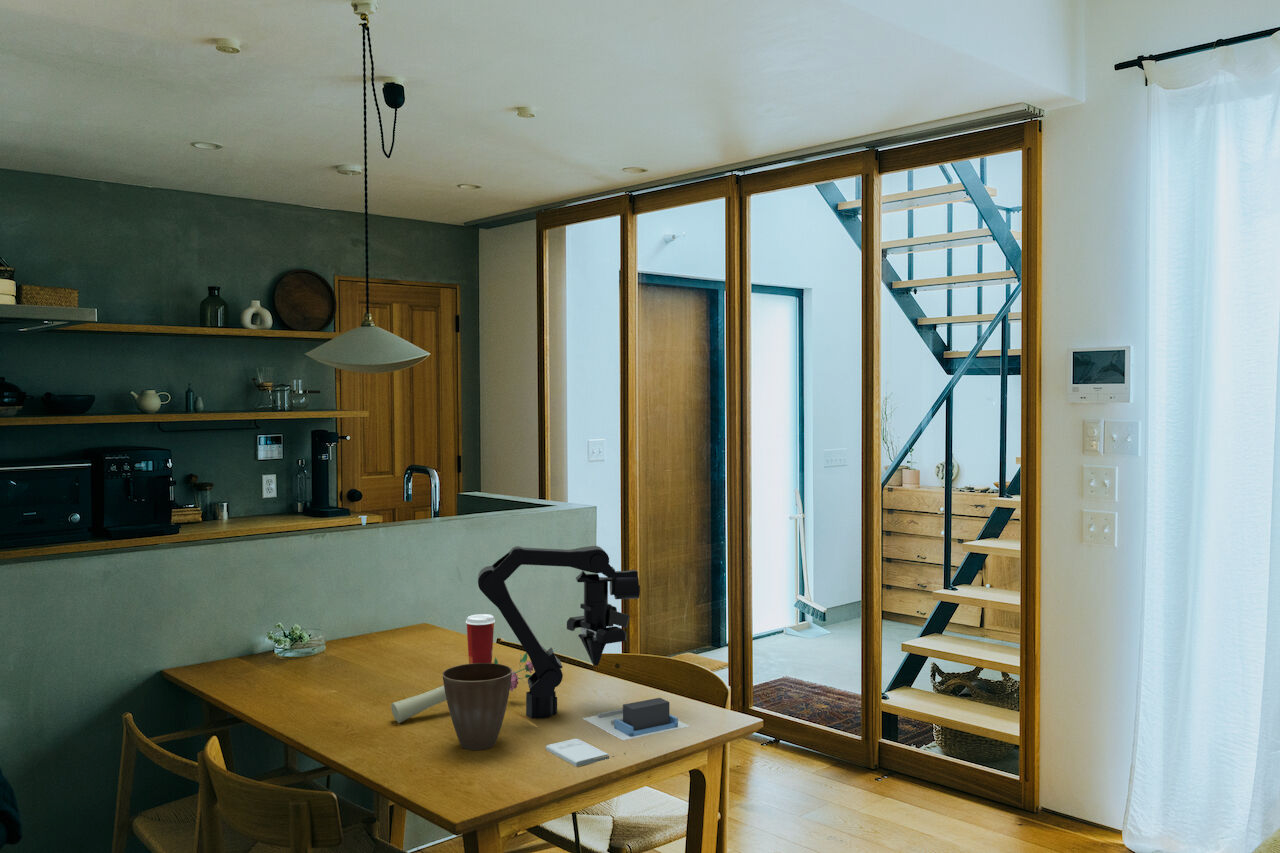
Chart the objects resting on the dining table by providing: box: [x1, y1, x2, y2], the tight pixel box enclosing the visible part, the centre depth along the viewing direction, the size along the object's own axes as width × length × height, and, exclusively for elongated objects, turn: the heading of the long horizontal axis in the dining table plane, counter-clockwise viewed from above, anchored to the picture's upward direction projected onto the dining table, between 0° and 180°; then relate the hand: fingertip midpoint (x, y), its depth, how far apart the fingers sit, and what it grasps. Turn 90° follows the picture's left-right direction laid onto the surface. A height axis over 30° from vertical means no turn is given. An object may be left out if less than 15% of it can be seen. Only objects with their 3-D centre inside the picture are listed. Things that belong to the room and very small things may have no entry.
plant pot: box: [442, 662, 513, 751], centre depth 213 cm, size 15×15×16 cm
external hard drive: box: [545, 738, 610, 768], centre depth 208 cm, size 2×8×12 cm
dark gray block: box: [622, 697, 670, 731], centre depth 223 cm, size 10×4×6 cm, turn 123°
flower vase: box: [390, 651, 534, 724], centre depth 237 cm, size 12×12×35 cm
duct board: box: [582, 708, 690, 741], centre depth 226 cm, size 18×18×3 cm
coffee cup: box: [465, 613, 496, 664], centre depth 274 cm, size 8×8×15 cm
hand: (595, 665), depth 234 cm, fingers closed
